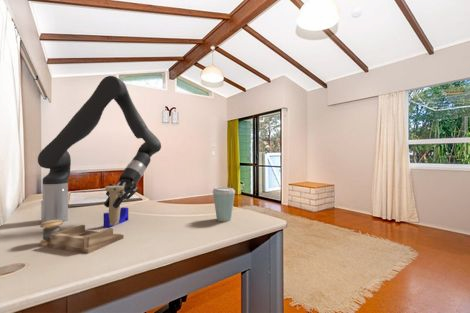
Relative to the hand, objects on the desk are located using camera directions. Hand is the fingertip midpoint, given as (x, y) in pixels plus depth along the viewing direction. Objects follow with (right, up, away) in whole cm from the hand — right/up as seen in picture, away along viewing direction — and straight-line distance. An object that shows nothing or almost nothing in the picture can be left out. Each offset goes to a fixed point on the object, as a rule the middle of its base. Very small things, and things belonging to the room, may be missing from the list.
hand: (110, 206), depth 90 cm
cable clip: (-5, -11, +13) cm, 18 cm away
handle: (+1, -8, +2) cm, 8 cm away
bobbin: (-15, -10, -10) cm, 21 cm away
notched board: (-3, -10, -10) cm, 14 cm away
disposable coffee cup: (+43, -10, +19) cm, 48 cm away
